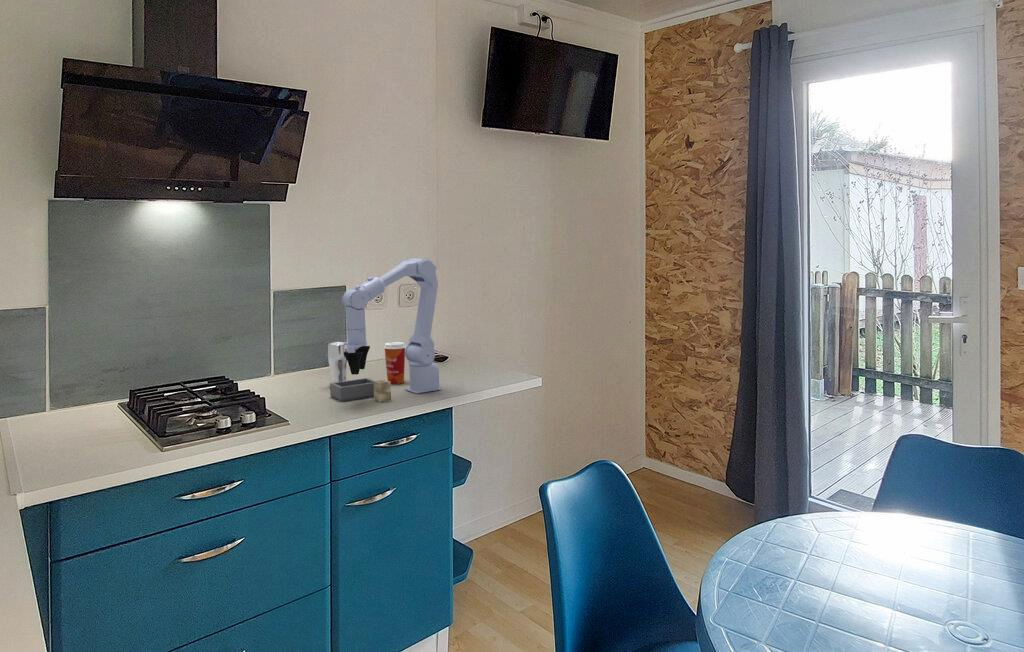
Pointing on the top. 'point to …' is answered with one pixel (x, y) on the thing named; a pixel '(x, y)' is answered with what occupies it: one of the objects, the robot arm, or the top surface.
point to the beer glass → (337, 361)
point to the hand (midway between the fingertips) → (358, 371)
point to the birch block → (382, 390)
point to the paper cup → (395, 361)
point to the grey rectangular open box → (352, 389)
